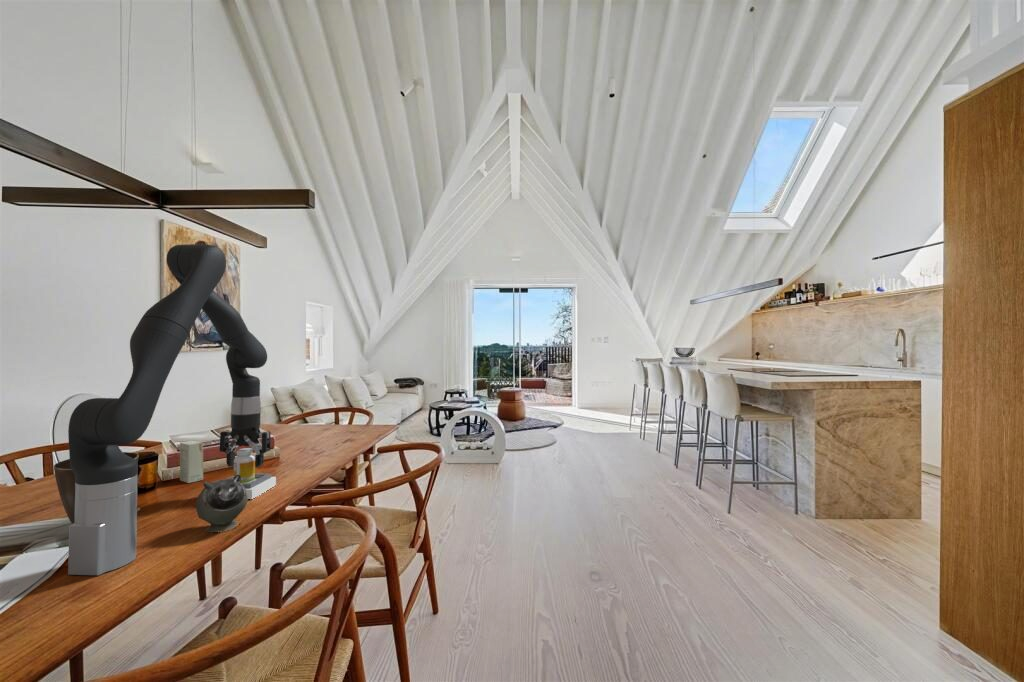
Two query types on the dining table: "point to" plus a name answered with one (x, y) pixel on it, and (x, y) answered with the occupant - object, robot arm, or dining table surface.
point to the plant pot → (71, 484)
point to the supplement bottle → (245, 465)
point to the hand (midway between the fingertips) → (245, 466)
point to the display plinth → (258, 485)
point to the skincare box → (191, 461)
